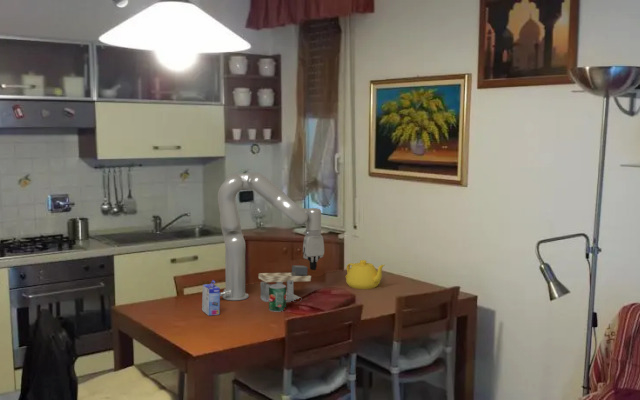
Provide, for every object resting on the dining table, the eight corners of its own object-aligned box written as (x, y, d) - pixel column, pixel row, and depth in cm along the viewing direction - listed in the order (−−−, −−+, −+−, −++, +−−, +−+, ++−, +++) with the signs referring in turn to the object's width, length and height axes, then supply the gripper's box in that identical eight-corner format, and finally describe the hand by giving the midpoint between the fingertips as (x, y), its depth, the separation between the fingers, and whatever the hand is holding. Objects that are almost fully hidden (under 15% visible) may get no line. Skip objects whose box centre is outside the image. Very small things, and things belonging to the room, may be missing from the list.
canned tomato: (289, 309, 299) (289, 286, 298) (277, 312, 293) (277, 289, 292) (277, 306, 304) (277, 283, 303) (265, 309, 299) (265, 286, 298)
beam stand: (270, 304, 307) (270, 283, 306) (256, 296, 321) (256, 276, 320) (301, 300, 315) (301, 280, 314) (286, 292, 329) (286, 273, 328)
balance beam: (266, 282, 309) (266, 276, 309) (258, 278, 317) (258, 273, 316) (310, 281, 320) (311, 275, 320) (302, 277, 328) (302, 272, 328)
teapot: (393, 286, 343) (394, 261, 342) (374, 293, 330) (374, 266, 328) (355, 279, 359) (355, 255, 358) (335, 285, 346) (335, 260, 344)
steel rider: (295, 277, 318) (296, 267, 318) (291, 275, 323) (292, 265, 323) (306, 277, 321) (307, 267, 321) (302, 275, 326) (302, 265, 325)
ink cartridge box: (220, 314, 290) (220, 282, 288) (208, 316, 287) (208, 284, 286) (213, 309, 298) (213, 278, 297) (201, 310, 296) (201, 279, 294)
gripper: (303, 235, 317) (303, 272, 319) (330, 233, 324) (329, 269, 326) (296, 233, 323) (296, 269, 325) (322, 231, 330) (322, 266, 332)
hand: (313, 269), depth 326 cm, fingers closed
